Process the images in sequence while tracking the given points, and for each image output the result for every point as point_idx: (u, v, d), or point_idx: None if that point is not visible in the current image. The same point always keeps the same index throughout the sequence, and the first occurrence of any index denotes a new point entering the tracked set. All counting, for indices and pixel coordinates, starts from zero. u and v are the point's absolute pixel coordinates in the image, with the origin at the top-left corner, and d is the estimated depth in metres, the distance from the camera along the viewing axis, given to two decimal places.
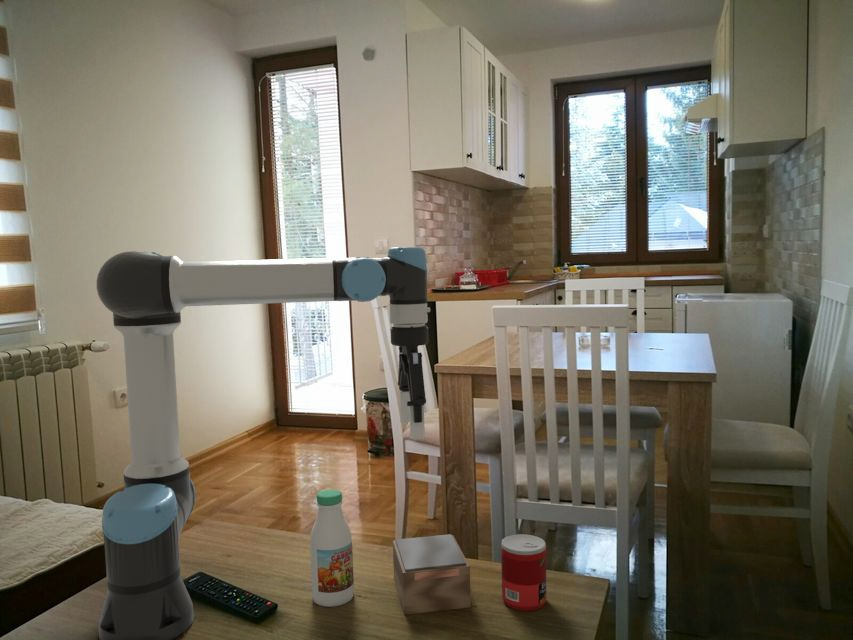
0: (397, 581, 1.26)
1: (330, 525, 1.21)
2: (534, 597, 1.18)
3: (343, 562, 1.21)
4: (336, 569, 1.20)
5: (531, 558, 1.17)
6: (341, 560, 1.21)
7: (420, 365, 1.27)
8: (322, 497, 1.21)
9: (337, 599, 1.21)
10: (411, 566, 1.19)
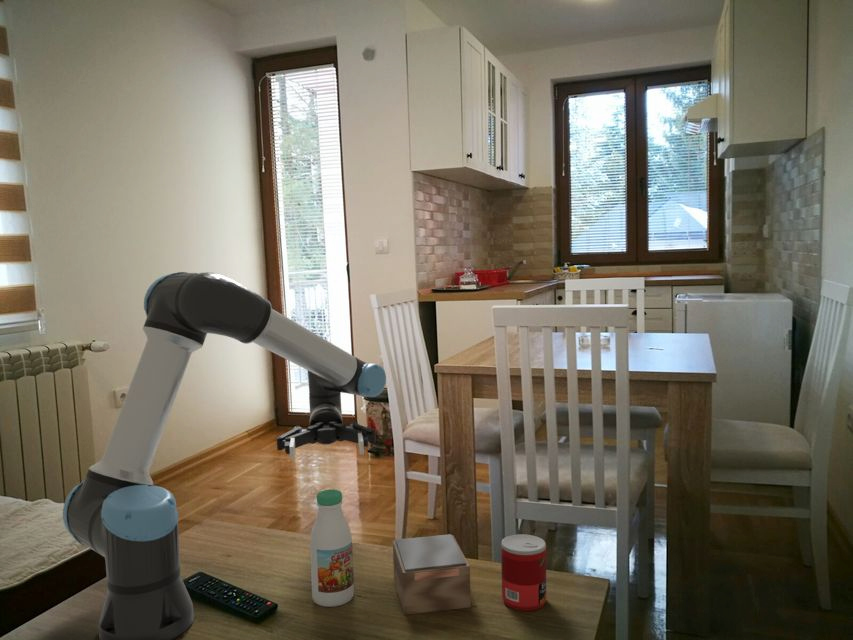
0: (397, 581, 1.26)
1: (330, 525, 1.21)
2: (534, 597, 1.18)
3: (343, 562, 1.21)
4: (336, 569, 1.20)
5: (531, 558, 1.17)
6: (341, 560, 1.21)
7: None
8: (322, 497, 1.21)
9: (337, 599, 1.21)
10: (411, 566, 1.19)
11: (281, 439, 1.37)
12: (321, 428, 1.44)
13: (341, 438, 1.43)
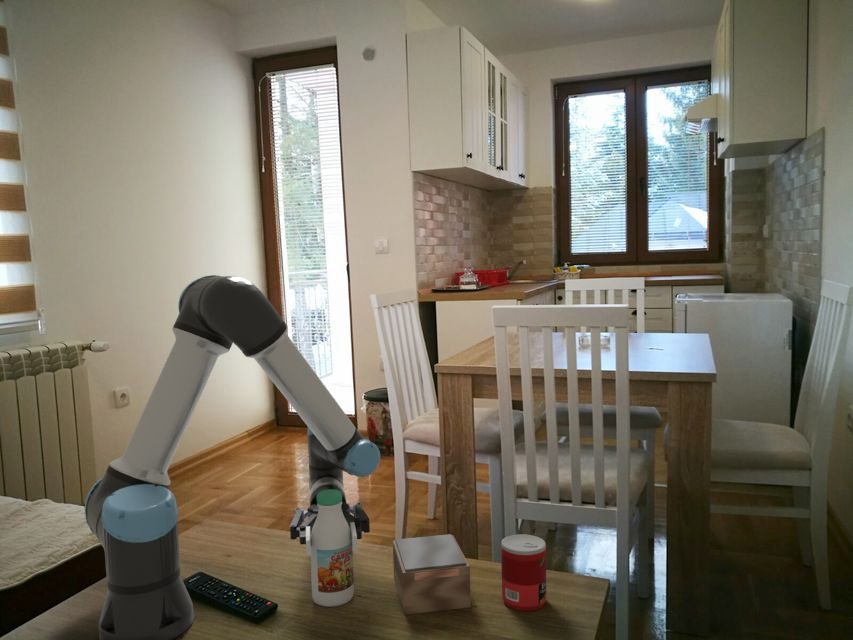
0: (397, 581, 1.26)
1: (330, 525, 1.21)
2: (534, 597, 1.18)
3: (343, 562, 1.21)
4: (336, 569, 1.20)
5: (531, 558, 1.17)
6: (341, 560, 1.21)
7: None
8: (322, 497, 1.21)
9: (337, 599, 1.21)
10: (411, 566, 1.19)
11: (295, 527, 1.25)
12: None
13: None
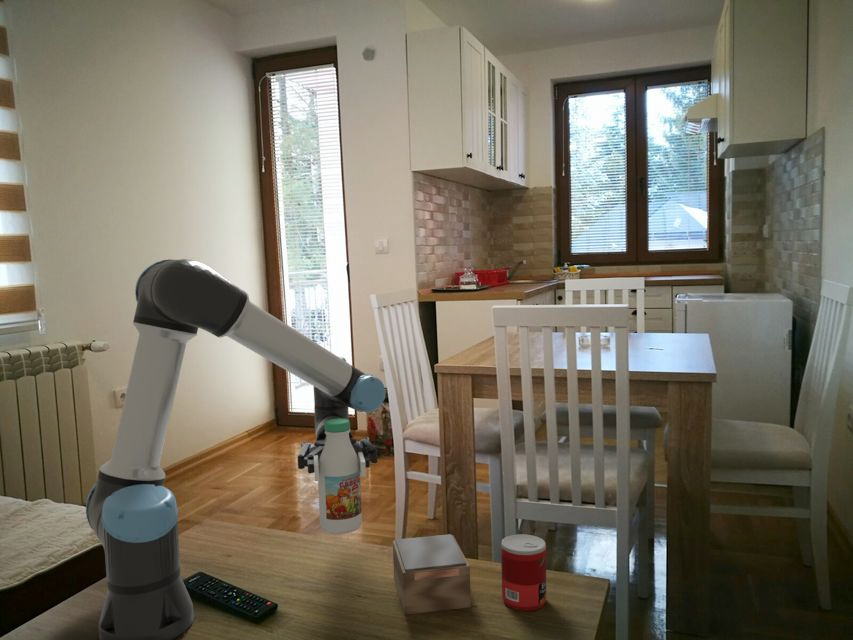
0: (397, 581, 1.26)
1: (338, 452, 1.20)
2: (534, 597, 1.18)
3: (352, 489, 1.20)
4: (345, 496, 1.20)
5: (531, 558, 1.17)
6: (349, 487, 1.20)
7: None
8: (330, 424, 1.20)
9: (345, 526, 1.20)
10: (411, 566, 1.19)
11: (302, 457, 1.24)
12: None
13: None
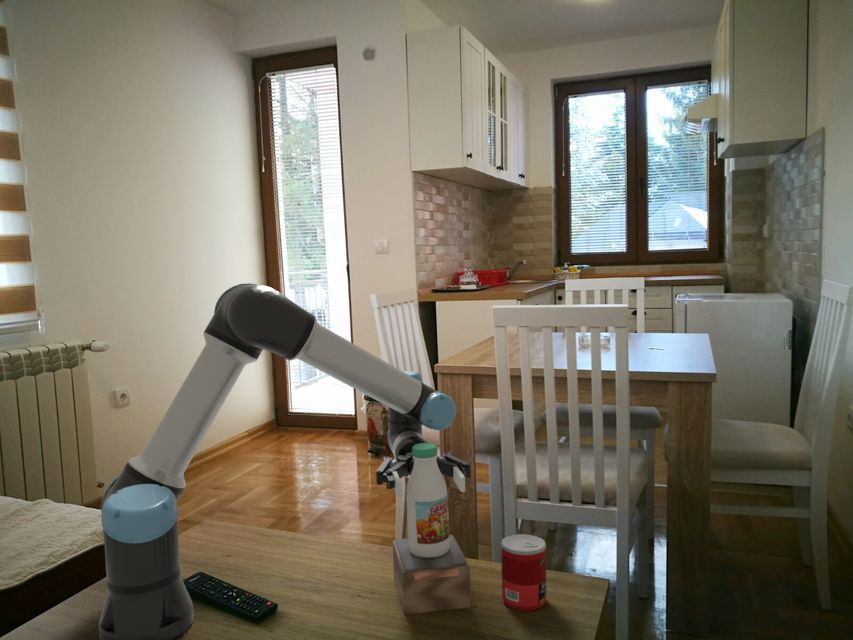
0: (397, 581, 1.26)
1: (428, 477, 1.21)
2: (534, 597, 1.18)
3: (442, 513, 1.21)
4: (435, 520, 1.21)
5: (531, 558, 1.17)
6: (439, 512, 1.21)
7: None
8: (419, 449, 1.21)
9: (436, 550, 1.21)
10: (411, 566, 1.19)
11: (381, 473, 1.26)
12: (413, 459, 1.33)
13: None
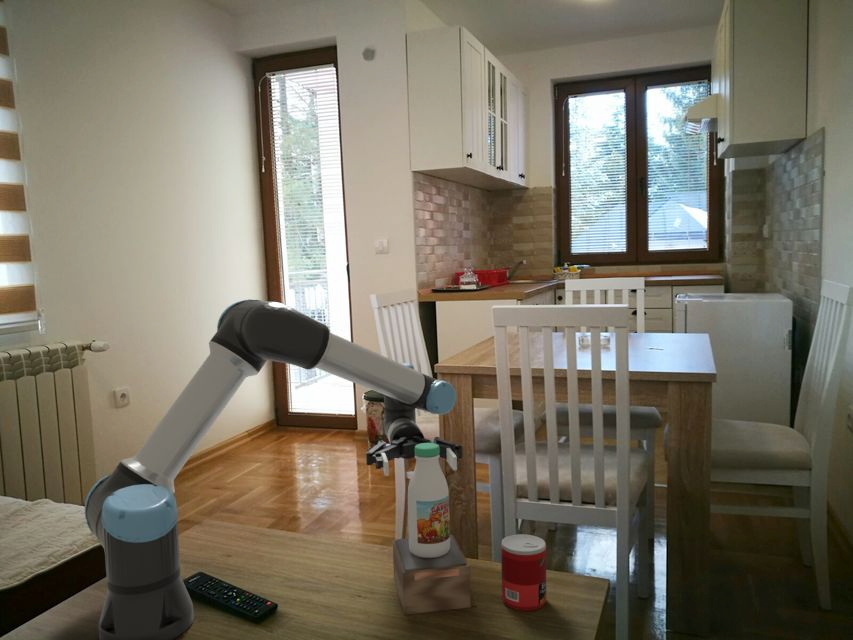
0: (397, 581, 1.26)
1: (429, 477, 1.21)
2: (534, 597, 1.18)
3: (442, 513, 1.21)
4: (436, 520, 1.21)
5: (531, 558, 1.17)
6: (440, 511, 1.21)
7: None
8: (421, 449, 1.21)
9: (436, 550, 1.21)
10: (411, 566, 1.19)
11: (371, 454, 1.37)
12: (406, 443, 1.44)
13: None
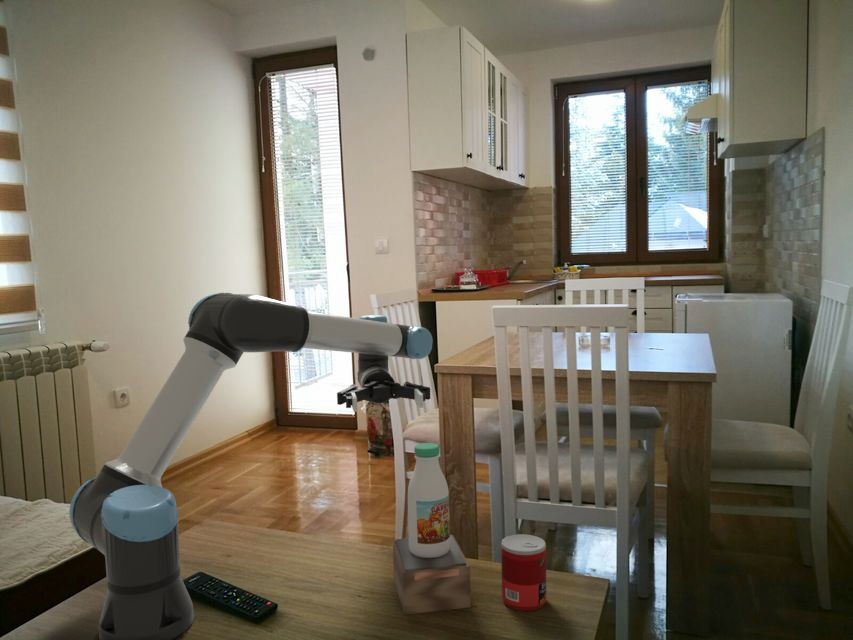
0: (397, 581, 1.26)
1: (429, 477, 1.21)
2: (534, 597, 1.18)
3: (442, 513, 1.21)
4: (436, 520, 1.21)
5: (531, 558, 1.17)
6: (440, 512, 1.21)
7: None
8: (421, 449, 1.21)
9: (436, 550, 1.21)
10: (411, 566, 1.19)
11: (341, 394, 1.43)
12: (376, 386, 1.50)
13: (396, 395, 1.49)
